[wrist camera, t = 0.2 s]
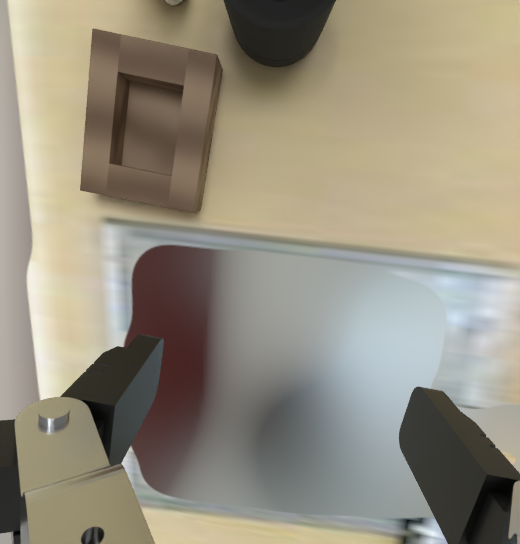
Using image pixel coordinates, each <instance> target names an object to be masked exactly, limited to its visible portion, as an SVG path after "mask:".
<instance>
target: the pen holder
mask: <svg viewBox="0 0 520 544" xmlns="http://www.w3.org/2000/svg"><path fill="white" fill-rule="evenodd" d="M335 1H336V0H224V3H225V6H226V9H227V12H228V15H229V19H230V22H231V25H232V27H233V30H234V33H235V36H236V38H237V40H238V42H239V44H240V46H241V47H242V49H243V50H244V51H245V52H246V53H247V54H248V55H249V56H250V57H251V58H252V59H254V60H255V61H257V62H259V63H261V64H263V65H267V66H272V67H282V66H287V65H290V64H293V63H295V62H297V61H299V60H300V59H302V58H303V57H304V56H306V55H307V54H308V52H309V51H310V50H311V49H312V48H313V46H314V45H315V43H316V42H317V40H318V38H319V36H320V34H321V32H322V30H323V28H324V26H325V23H326V21H327V19H328V17H329V14H330V12H331V10H332V8H333V5H334V3H335Z"/></svg>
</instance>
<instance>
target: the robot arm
mask: <svg viewBox="0 0 520 544" xmlns="http://www.w3.org/2000/svg"><path fill="white" fill-rule="evenodd" d="M163 346H164V340H163V338H158V337H153V336H147V335H142V334H139V335H138V336H137V337H136V338H135V339H134V340H133V341H132V343H131V344H130V345H129V346H128V347H127V348H124V347H119V346H117V347H115V348H113V349H111V350H109V351H106V352H104V353H103V354H102V355H101V356H100V357H99V358H98V359H97V360H96V361H95V362H94V364H92V365H91V366H90V367H89V368H88V369H87V370H86V372H84V373H83V374H82V375H81V376H80V377H79V378H78V379H77V380H76V381H75V382H74V383H73V384H72V385H71V386H70V387H69V388H68V389H67V390H66V391H65V392H64V393H63V395H62V396H61V397H55V398H48V399H44V400H41V401H38V402H35V403H33V404H31V405H29V406H28V407H26V408H25V409H23V410H22V411H21V412H20V413H19V414H18V416H17V417H16V419H14V420H2V421H0V533H7V532H11V538H12V544H155V542H154V540H153V537H152V535H151V532H150V530H149V527H148V525H147V522H146V520H145V517H144V515H143V512H142V510H141V508H140V505H139V503H138V500H137V498H136V495H135V493H134V490H133V488H132V485H131V483H130V480H129V478H128V475H127V473H126V471H125V468H124V467H123V465H122V464H121V463H122V461H123V459H124V457H125V455H126V453H127V451H128V449H129V447H130V446H131V444H132V442H133V440H134V438H135V436H136V434H137V432H138V430H139V428H140V427H141V424H142V423H143V421H144V419H145V417H146V415H147V413H148V411H149V410H150V408H151V406H152V404H153V401H154V399H155V396H156V392H157V388H158V383H159V376H160V368H161V361H162V354H163ZM399 443H400V448H401V451H402V453H403V455H404V456H405V458H406V461H407V463H408V465H409V467H410V469H411V471H412V473H413V475H414V477H415V479H416V481H417V482H418V485H419V487H420V489H421V491H422V493H423V495H424V497H425V499H426V500H427V503H428V505H429V506H430V509H431V511H432V513H433V515H434V517H435V519H436V521H437V523H438V525H439V527H440V529H441V531H442V533H443V535H444V537H445V539H446V541H447V543H448V544H520V474H519V472H518V471H517V470H516V469H515V468H514V467H513V465H512V464H511V463H510V462H509V461H508V460H507V459H506V457H505V456H504V455H503V454H502V453H501V452H500V450H499V449H497V448H495V445H494V444H493V442H492V441H491V440H490V439H489V438H487V437H486V434H485V433H484V432H483V431H482V430H481V429H480V427H479V426H478V425H477V424H476V423H475V422H474V421H472V420H471V419H470V418H469V417H467V416H466V415H465V414H463V413H462V412H460V410H459V409H458V408H457V407H456V406H455V404H454V403H453V402H452V401H451V400H450V399H449V397H448V396H447V395H446V394H445V393H444V392H443V391H439V390H434V389H428V388H423V387H416V388H415V389H414V390H413V392H412V394H411V397H410V401H409V403H408V407H407V409H406V412H405V415H404V419H403V422H402V425H401V428H400V432H399Z"/></svg>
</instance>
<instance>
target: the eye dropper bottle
mask: <svg viewBox="0 0 520 544" xmlns="http://www.w3.org/2000/svg"><path fill="white" fill-rule="evenodd" d="M165 1H166V2H167V3H168V4H170V5H172V6H175V5H177V4H179V3H180V2H181V1H183V0H165Z"/></svg>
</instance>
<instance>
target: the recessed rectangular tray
mask: <svg viewBox="0 0 520 544" xmlns="http://www.w3.org/2000/svg"><path fill="white" fill-rule="evenodd" d="M221 76H222V67H221V64H220V61H219V59H218V56H217V55H216V54H211V53H207V52H202V51H197V50H192V49H188V48H183V47H178V46H173V45H169V44H164V43H159V42H154V41H150V40H145V39H140V38H135V37H131V36H126V35H121V34H116V33H112V32H107V31H102V30H97V29H93V30H92V43H91V56H90V69H89V82H88V95H87V108H86V121H85V134H84V147H83V160H82V173H81V186H80V190H81V191H86V192H91V193H96V194H101V195H106V196H111V197H116V198H121V199H126V200H131V201H137V202H142V203H147V204H152V205H157V206H162V207H167V208H172V209H177V210H182V211H187V212H192V213H194V212H197V211H200V210H201V204H202V198H203V191H204V185H205V179H206V172H207V166H208V159H209V153H210V146H211V140H212V134H213V127H214V121H215V114H216V108H217V102H218V95H219V89H220V82H221Z"/></svg>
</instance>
